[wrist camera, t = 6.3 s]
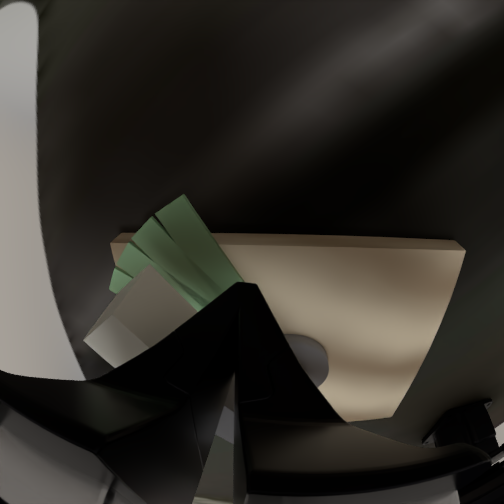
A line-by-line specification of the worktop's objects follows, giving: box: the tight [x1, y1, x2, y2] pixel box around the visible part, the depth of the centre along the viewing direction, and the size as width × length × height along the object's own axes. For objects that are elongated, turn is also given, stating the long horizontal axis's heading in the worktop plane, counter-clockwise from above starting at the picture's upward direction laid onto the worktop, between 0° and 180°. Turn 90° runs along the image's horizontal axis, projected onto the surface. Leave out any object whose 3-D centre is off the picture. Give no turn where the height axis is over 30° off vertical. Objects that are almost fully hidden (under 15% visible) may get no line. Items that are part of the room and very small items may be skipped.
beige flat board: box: [109, 194, 466, 422], centre depth 15 cm, size 16×18×2 cm
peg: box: [84, 264, 310, 444], centre depth 11 cm, size 11×2×4 cm, turn 39°
